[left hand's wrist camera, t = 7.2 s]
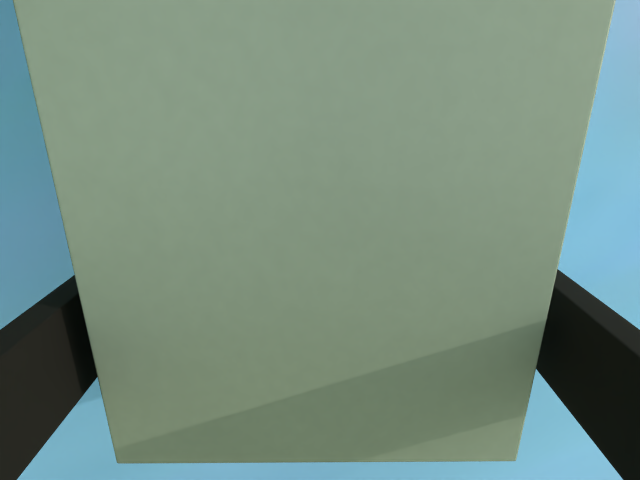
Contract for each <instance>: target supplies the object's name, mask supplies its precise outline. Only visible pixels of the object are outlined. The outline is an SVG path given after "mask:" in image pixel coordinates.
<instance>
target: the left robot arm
mask: <svg viewBox="0 0 640 480" xmlns="http://www.w3.org/2000/svg"><path fill="white" fill-rule="evenodd" d="M536 369H537V370H538V372H539V373H540V374H541V376H542V377H543V378H544V379H545V381H546V382H547V383H548V384H549V386H550V387H551V388H552V390H553V391H554V392H555V393H556V395H557V396H558V397H559V398H560V400H561V401H562V402H563V404H564V405H565V406H566V407H567V409H568V410H569V411H570V412H571V414H572V415H573V416H574V418H575V419H576V420H577V421H578V423H579V424H580V425H581V426H582V428H583V429H584V430H585V432H586V433H587V434H588V435H589V437H590V438H591V439H592V440H593V442H594V443H595V444H596V445H597V447H598V448H599V449H600V451H601V452H602V453H603V454H604V456H605V457H606V458H607V459H608V461H609V462H610V463H611V465H612V466H613V467H614V468H615V470H616V471H617V472H618V473H619V475H620V476H621V477H622V479H623V480H640V330H639V329H638V328H636V327H635V326H634V325H632V324H631V323H630V322H628V321H627V320H626V319H624V318H623V317H622V316H620V315H619V314H618V313H616V312H615V311H613V310H612V309H611V308H609V307H608V306H607V305H605V304H604V303H603V302H601V301H600V300H599V299H597V298H596V297H594V296H593V295H592V294H590V293H589V292H588V291H586V290H585V289H584V288H582V287H581V286H580V285H578V284H577V283H576V282H574V281H573V280H571V279H570V278H569V277H567V276H566V275H565V274H563V273H562V272H561V271H559V270H558V269H557V273H556V278H555V282H554V287H553V291H552V296H551V301H550V305H549V310H548V314H547V319H546V324H545V328H544V333H543V338H542V342H541V347H540V351H539V356H538V361H537V365H536ZM97 377H98V376H97V371H96V367H95V363H94V358H93V354H92V349H91V345H90V340H89V336H88V332H87V327H86V323H85V318H84V314H83V309H82V305H81V300H80V296H79V292H78V287H77V283H76V278H75V275H74V276H73V277H71V278H70V279H69V280H67V281H66V282H64V283H63V284H62V285H60V286H59V287H58V288H56V289H55V290H54V291H52V292H51V293H50V294H48V295H47V296H46V297H44V298H43V299H41V300H40V301H39V302H37V303H36V304H35V305H33V306H32V307H31V308H29V309H28V310H27V311H25V312H24V313H22V314H21V315H20V316H18V317H17V318H16V319H14V320H13V321H12V322H10V323H9V324H8V325H6V326H5V327H4V328H2V329H1V330H0V480H17V479H18V477H19V476H20V475H21V473H22V472H23V471H24V470H25V468H26V467H27V466H28V465H29V463H30V462H31V461H32V459H33V458H34V457H35V456H36V454H37V453H38V452H39V451H40V449H41V448H42V447H43V445H44V444H45V443H46V442H47V440H48V439H49V438H50V437H51V435H52V434H53V433H54V432H55V430H56V429H57V428H58V426H59V425H60V424H61V423H62V421H63V420H64V419H65V418H66V416H67V415H68V414H69V412H70V411H71V410H72V409H73V407H74V406H75V405H76V404H77V402H78V401H79V400H80V398H81V397H82V396H83V395H84V393H85V392H86V391H87V390H88V388H89V387H90V386H91V384H92V383H93V382H94V381H95V379H96V378H97Z"/></svg>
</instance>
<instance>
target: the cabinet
mask: <svg viewBox="0 0 640 480" xmlns="http://www.w3.org/2000/svg"><path fill="white" fill-rule="evenodd" d="M615 1H616V0H13V3H14V7H15V12H16V16H17V21H18V25H19V30H20V34H21V38H22V43H23V47H24V52H25V56H26V61H27V65H28V70H29V74H30V78H31V83H32V87H33V92H34V96H35V101H36V105H37V109H38V114H39V118H40V123H41V127H42V132H43V136H44V141H45V145H46V149H47V154H48V158H49V163H50V167H51V172H52V176H53V181H54V185H55V189H56V194H57V198H58V203H59V207H60V212H61V216H62V220H63V225H64V229H65V234H66V238H67V243H68V247H69V252H70V256H71V260H72V265H73V269H74V274H75V278H76V283H77V287H78V292H79V296H80V300H81V305H82V309H83V314H84V318H85V323H86V327H87V332H88V336H89V340H90V345H91V349H92V354H93V358H94V363H95V367H96V371H97V376H98V380H99V385H100V389H101V394H102V398H103V403H104V407H105V411H106V416H107V420H108V425H109V429H110V434H111V438H112V443H113V447H114V451H115V456H116V460H117V463H262V462H431V461H516V458H517V453H518V448H519V444H520V439H521V434H522V430H523V425H524V421H525V416H526V411H527V407H528V402H529V398H530V393H531V388H532V384H533V379H534V374H535V370H536V365H537V361H538V356H539V351H540V347H541V342H542V338H543V333H544V328H545V324H546V319H547V314H548V310H549V305H550V301H551V296H552V291H553V287H554V282H555V278H556V273H557V268H558V264H559V259H560V254H561V250H562V245H563V241H564V236H565V231H566V227H567V222H568V218H569V213H570V208H571V204H572V199H573V194H574V190H575V185H576V181H577V176H578V171H579V167H580V162H581V158H582V153H583V148H584V144H585V139H586V135H587V130H588V125H589V121H590V116H591V111H592V107H593V102H594V98H595V93H596V88H597V84H598V79H599V75H600V70H601V65H602V61H603V56H604V51H605V47H606V42H607V38H608V33H609V28H610V24H611V19H612V15H613V10H614V5H615Z"/></svg>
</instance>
